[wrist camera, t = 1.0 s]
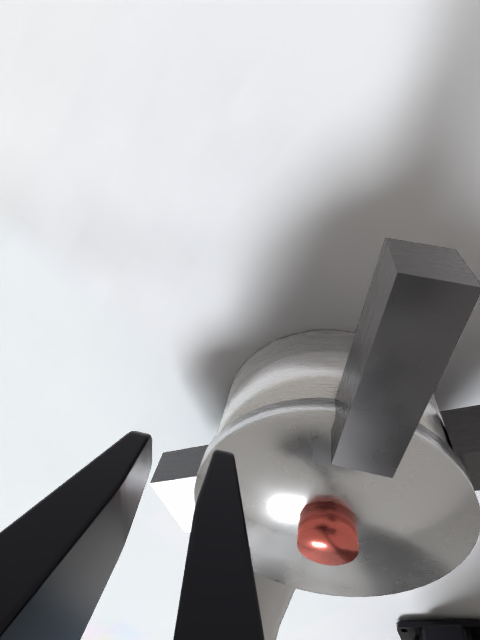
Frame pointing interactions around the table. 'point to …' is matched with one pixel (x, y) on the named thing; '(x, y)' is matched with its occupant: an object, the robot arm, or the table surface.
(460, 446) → the pot
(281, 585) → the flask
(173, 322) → the table surface
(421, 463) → the lid
